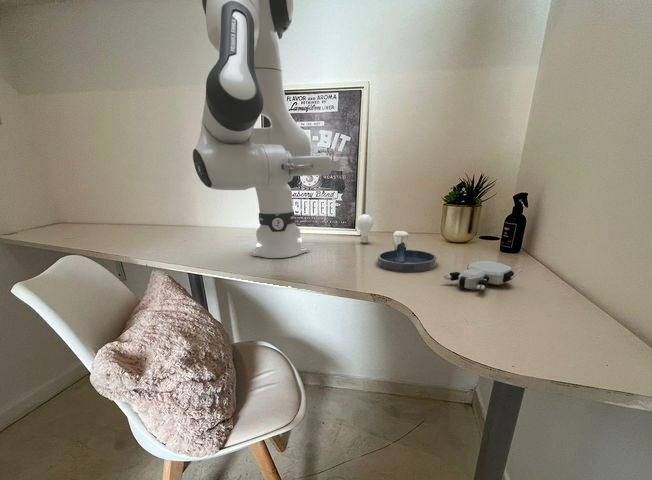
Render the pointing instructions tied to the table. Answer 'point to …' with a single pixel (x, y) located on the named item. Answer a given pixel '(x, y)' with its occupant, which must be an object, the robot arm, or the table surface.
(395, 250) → the salt shaker
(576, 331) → the table surface
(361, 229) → the lightbulb
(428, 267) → the blue round tray
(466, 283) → the robot toy
